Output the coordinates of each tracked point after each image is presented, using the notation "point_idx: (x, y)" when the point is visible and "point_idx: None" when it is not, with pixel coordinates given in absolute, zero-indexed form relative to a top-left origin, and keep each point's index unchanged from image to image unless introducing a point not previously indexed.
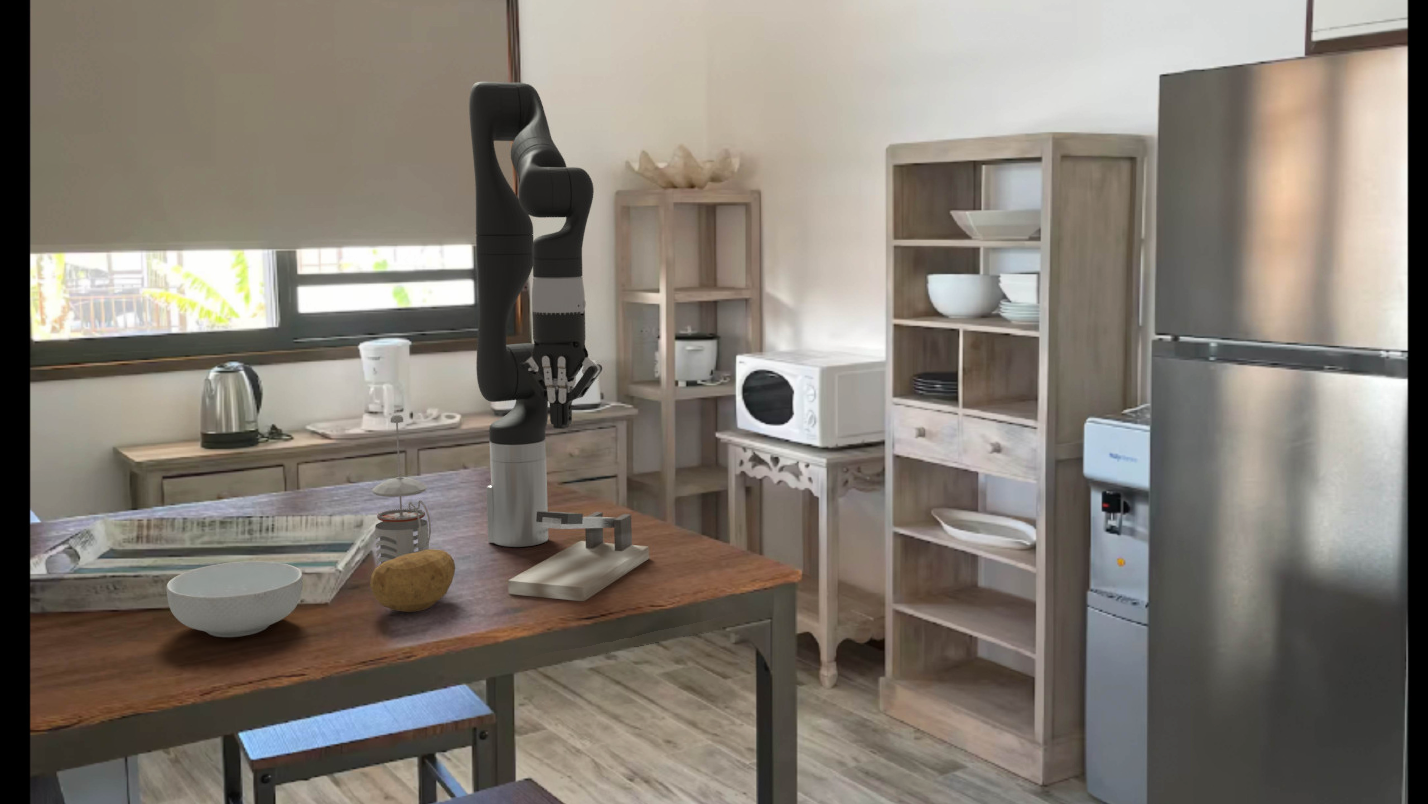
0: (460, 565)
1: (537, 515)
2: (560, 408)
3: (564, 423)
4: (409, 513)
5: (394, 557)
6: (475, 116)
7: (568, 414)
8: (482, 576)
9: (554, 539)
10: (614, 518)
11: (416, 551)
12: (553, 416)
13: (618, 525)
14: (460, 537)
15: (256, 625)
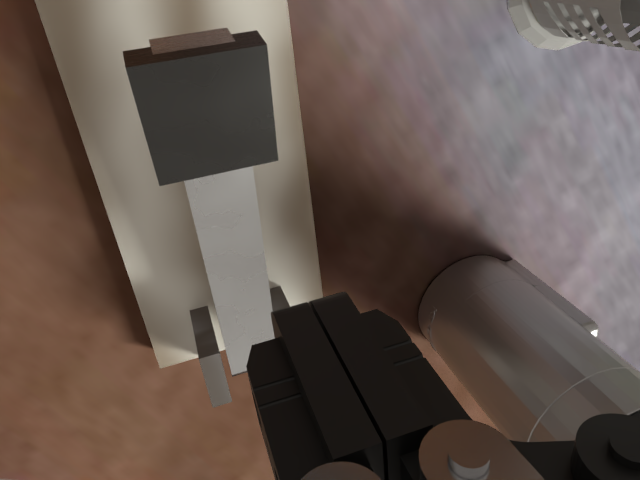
0: (495, 107)
1: (258, 38)
2: (331, 416)
3: (272, 347)
4: None
5: (628, 4)
6: None
7: (261, 422)
8: (412, 57)
9: (413, 341)
10: (229, 363)
11: (596, 38)
12: (373, 340)
13: (204, 346)
14: (574, 260)
15: None
